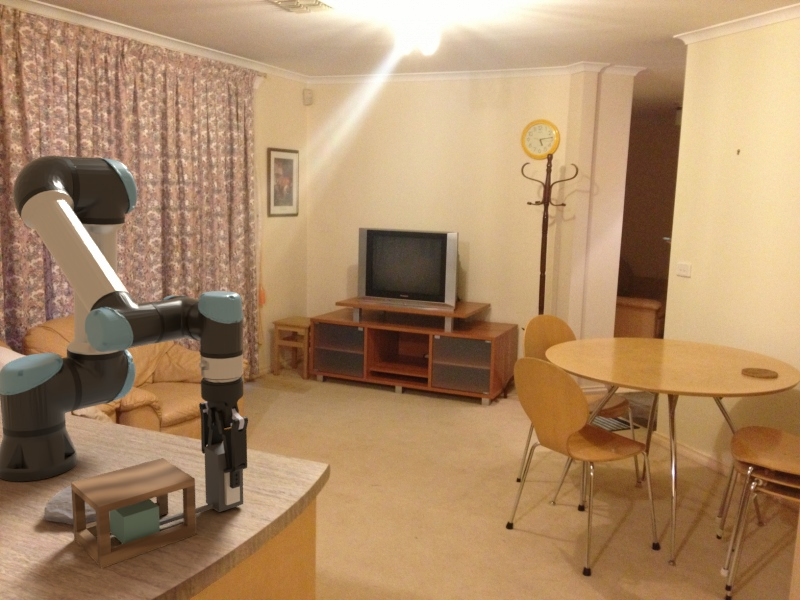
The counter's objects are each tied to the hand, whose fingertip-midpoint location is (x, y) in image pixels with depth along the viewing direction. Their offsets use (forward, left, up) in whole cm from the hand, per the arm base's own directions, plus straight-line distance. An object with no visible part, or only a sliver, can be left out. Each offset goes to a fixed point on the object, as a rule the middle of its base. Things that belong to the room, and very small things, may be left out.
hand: (224, 497), depth 129 cm
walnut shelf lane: (0, -17, -2) cm, 17 cm away
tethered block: (0, -9, -1) cm, 9 cm away
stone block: (-14, -21, -3) cm, 25 cm away
